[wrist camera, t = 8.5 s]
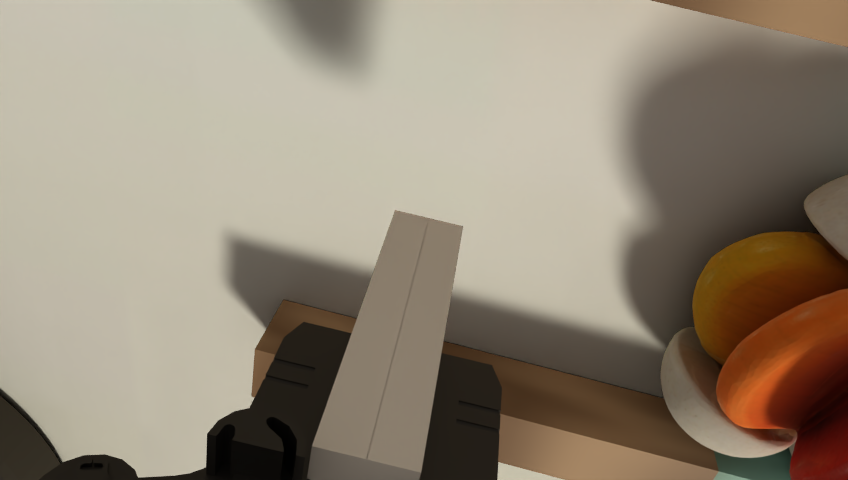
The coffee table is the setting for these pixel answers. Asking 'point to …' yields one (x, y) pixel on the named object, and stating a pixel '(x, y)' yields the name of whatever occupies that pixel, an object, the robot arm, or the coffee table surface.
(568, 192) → the coffee table surface
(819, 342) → the rainbow sensory ball
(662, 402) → the bay
